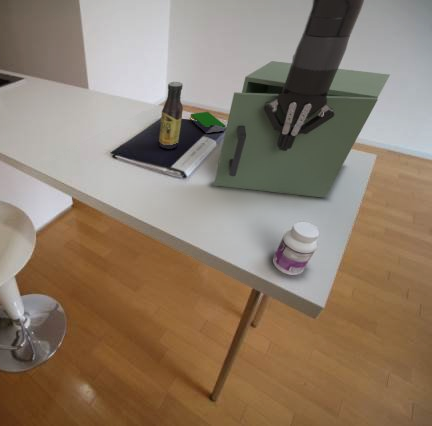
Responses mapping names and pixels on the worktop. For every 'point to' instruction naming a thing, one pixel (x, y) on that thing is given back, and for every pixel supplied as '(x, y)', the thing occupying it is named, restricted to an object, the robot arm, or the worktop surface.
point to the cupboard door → (292, 158)
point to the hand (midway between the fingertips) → (282, 149)
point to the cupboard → (341, 86)
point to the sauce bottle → (171, 115)
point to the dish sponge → (206, 119)
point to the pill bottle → (296, 248)
